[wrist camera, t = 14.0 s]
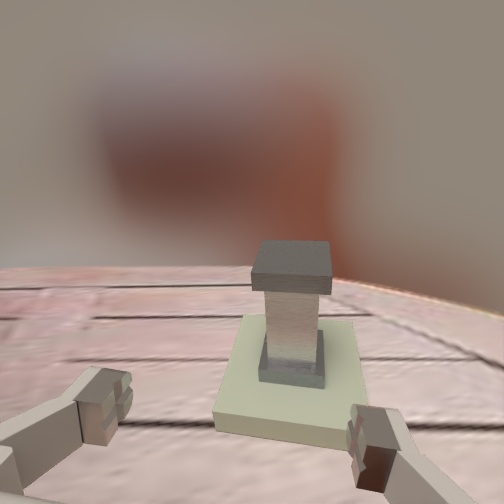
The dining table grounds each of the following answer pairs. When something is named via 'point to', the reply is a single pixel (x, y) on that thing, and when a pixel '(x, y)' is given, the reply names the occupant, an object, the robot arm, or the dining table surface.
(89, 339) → the dining table surface
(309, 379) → the post
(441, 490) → the robot arm
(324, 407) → the stand
